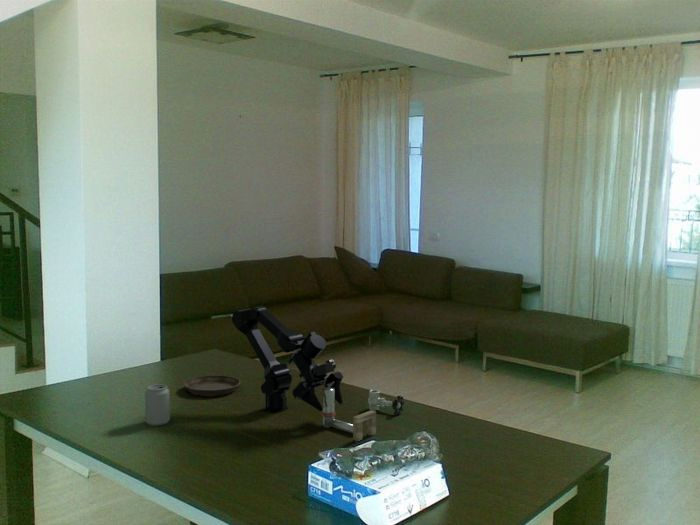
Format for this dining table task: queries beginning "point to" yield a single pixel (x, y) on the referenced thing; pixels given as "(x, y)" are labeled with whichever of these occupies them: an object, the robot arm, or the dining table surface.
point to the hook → (332, 411)
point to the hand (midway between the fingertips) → (331, 407)
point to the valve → (384, 402)
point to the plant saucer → (211, 385)
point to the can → (157, 405)
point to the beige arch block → (358, 424)
